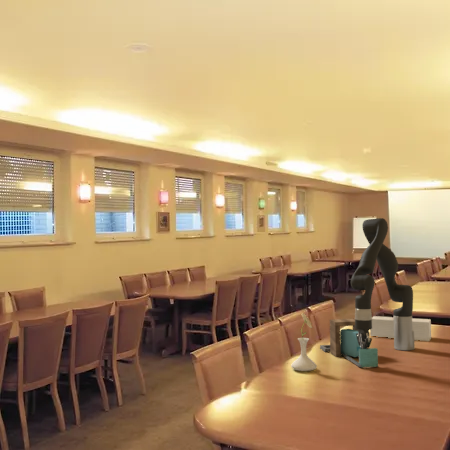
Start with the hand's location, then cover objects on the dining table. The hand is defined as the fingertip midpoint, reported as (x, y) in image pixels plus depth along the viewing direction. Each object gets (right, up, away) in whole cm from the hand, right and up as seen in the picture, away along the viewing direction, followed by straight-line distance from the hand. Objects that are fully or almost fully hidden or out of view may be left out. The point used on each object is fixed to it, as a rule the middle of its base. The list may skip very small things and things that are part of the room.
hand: (364, 356), depth 233 cm
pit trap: (-4, -5, +32) cm, 33 cm away
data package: (-1, -4, +17) cm, 18 cm away
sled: (-1, -4, +9) cm, 10 cm away
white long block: (+38, -5, +61) cm, 72 cm away
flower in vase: (-28, -5, -5) cm, 29 cm away
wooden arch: (-3, -5, +21) cm, 22 cm away
